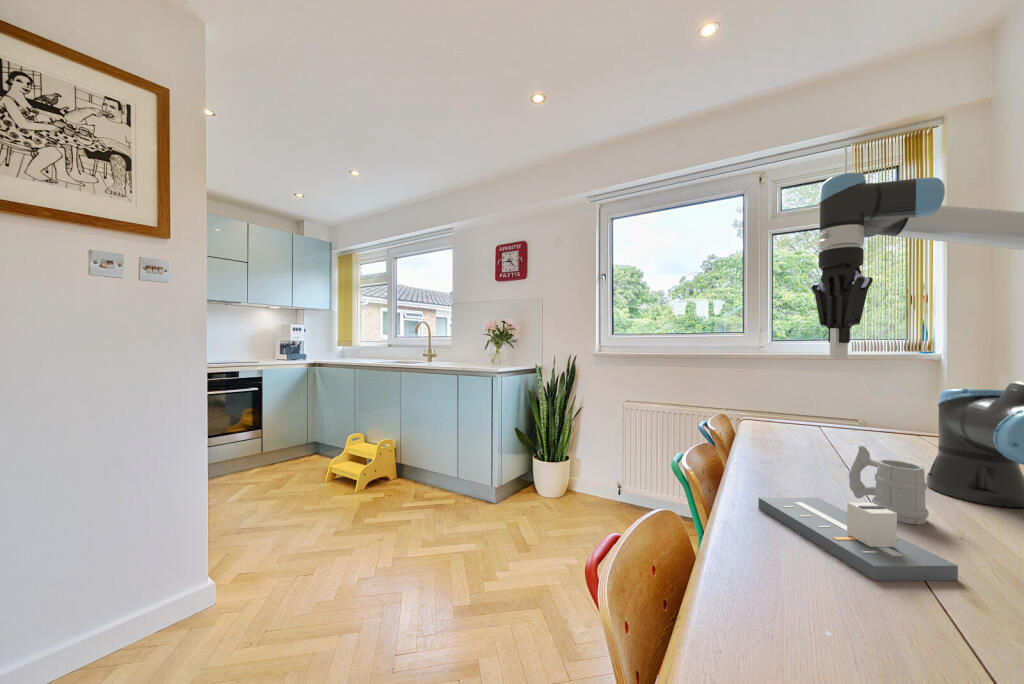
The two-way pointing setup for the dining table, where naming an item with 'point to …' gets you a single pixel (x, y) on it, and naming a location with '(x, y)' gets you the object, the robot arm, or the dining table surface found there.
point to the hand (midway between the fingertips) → (838, 358)
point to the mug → (892, 487)
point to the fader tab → (872, 524)
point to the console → (857, 542)
